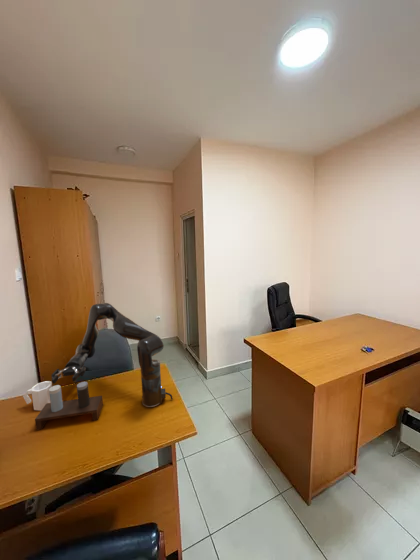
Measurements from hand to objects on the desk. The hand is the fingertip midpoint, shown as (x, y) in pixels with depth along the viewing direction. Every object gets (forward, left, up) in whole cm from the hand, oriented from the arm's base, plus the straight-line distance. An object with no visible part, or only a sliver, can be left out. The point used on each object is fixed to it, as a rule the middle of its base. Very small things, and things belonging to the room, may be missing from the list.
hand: (63, 380), depth 108 cm
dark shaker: (-11, +9, -8) cm, 16 cm away
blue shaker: (0, +9, -8) cm, 12 cm away
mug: (+13, -3, -13) cm, 19 cm away
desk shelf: (-6, +9, -13) cm, 17 cm away
